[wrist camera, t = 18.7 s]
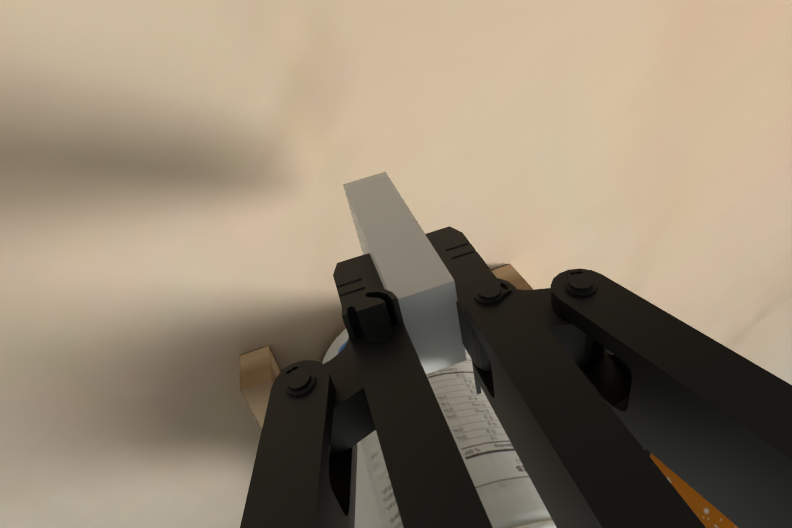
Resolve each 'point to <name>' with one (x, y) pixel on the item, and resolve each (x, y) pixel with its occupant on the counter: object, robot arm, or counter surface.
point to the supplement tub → (479, 447)
